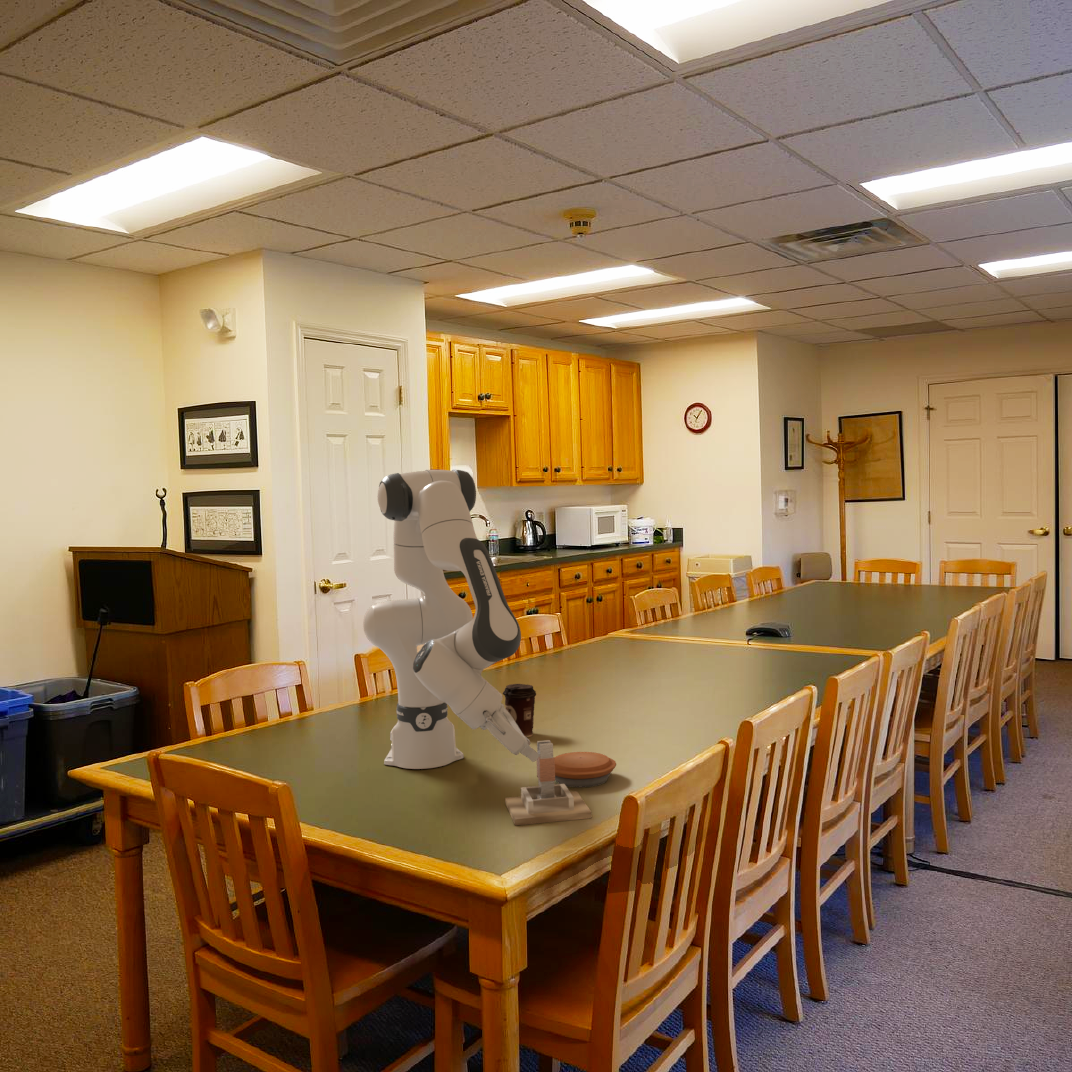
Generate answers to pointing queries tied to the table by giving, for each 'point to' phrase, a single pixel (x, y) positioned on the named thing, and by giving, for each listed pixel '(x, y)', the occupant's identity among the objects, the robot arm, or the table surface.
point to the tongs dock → (546, 806)
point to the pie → (583, 769)
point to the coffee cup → (521, 706)
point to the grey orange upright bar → (545, 769)
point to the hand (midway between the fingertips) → (532, 751)
